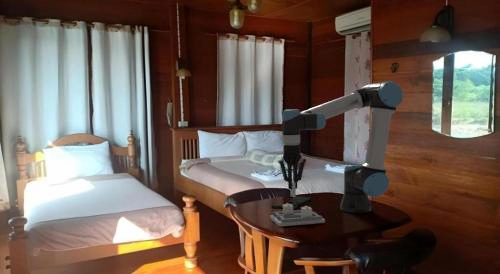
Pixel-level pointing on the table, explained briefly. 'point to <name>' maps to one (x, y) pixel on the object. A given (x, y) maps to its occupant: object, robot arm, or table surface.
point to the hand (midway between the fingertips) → (293, 196)
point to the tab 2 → (306, 211)
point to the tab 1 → (288, 209)
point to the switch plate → (295, 218)
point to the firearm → (294, 202)
